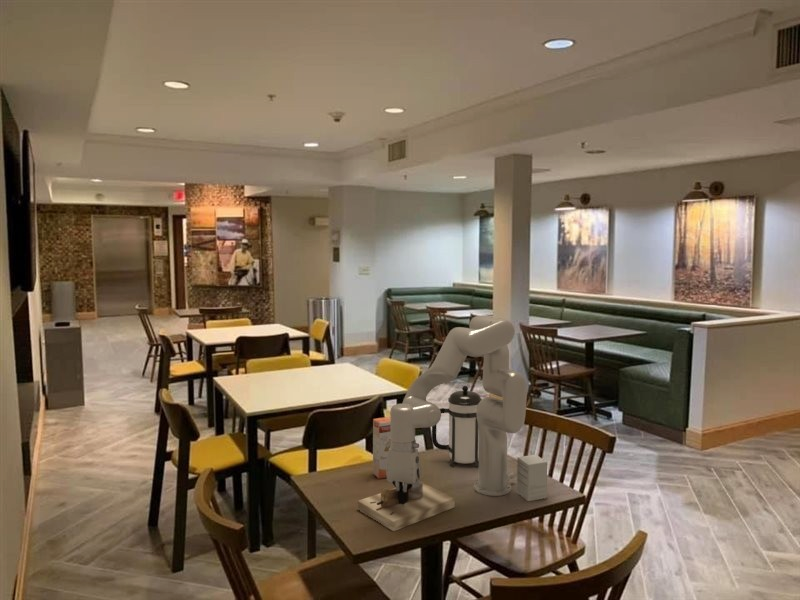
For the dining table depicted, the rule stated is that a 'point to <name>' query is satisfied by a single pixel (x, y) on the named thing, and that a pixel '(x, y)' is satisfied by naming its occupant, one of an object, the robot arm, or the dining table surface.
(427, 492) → the dial board
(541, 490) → the supplement box
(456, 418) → the coffee press
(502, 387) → the robot arm
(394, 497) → the lever
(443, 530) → the dining table surface
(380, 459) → the cracker box
